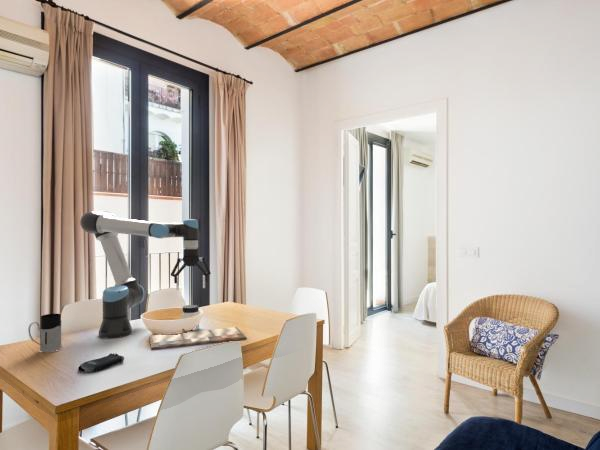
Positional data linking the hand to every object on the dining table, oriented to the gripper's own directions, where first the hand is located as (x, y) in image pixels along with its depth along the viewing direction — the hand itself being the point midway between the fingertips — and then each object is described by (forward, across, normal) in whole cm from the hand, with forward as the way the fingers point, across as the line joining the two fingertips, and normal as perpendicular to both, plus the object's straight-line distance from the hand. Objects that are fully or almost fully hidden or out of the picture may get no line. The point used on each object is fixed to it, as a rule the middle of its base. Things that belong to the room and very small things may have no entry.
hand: (190, 288), depth 208 cm
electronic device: (+22, -40, -43) cm, 63 cm away
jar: (+22, 0, 0) cm, 22 cm away
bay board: (+21, +1, -19) cm, 28 cm away
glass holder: (+21, -63, -14) cm, 68 cm away
